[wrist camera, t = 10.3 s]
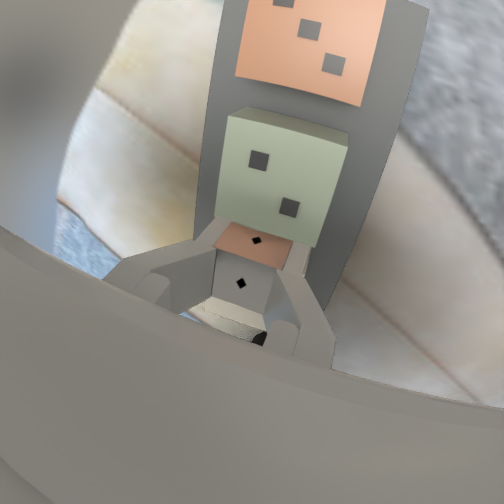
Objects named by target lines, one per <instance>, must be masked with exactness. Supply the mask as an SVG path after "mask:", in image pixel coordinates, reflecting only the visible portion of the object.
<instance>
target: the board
mask: <svg viewBox="0 0 504 504" xmlns="http://www.w3.org/2000/svg"><path fill="white" fill-rule="evenodd" d="M248 3H249V0H225V1H224V6H223V11H222V16H221V22H220V27H219V33H218V39H217V44H216V50H215V56H214V63H213V69H212V75H211V82H210V89H209V96H208V103H207V110H206V118H205V126H204V134H203V142H202V151H201V160H200V169H199V179H198V189H197V199H196V210H195V222H194V235H193V240H194V241H195V240H196V239H197V238H198V237H199V236H200V235H201V233H202V232H203V231H204V230H205V229H206V228H207V226H208V225H209V224H210V223H211V222H212V221H213V220H214V218H215V217H214V212H215V205H216V197H217V189H218V182H219V174H220V167H221V160H222V153H223V146H224V140H225V133H226V126H227V120H228V115H230V114H233V113H235V112H237V111H239V110H241V109H243V108H245V107H252V108H257V109H261V110H265V111H270V112H274V113H278V114H282V115H286V116H290V117H294V118H298V119H301V120H305V121H309V122H312V123H316V124H319V125H323V126H326V127H329V128H333V129H336V130H339V131H342V132H345V133H348V149H347V153H346V156H345V159H344V162H343V165H342V169H341V172H340V175H339V178H338V181H337V184H336V187H335V190H334V194H333V197H332V200H331V203H330V206H329V209H328V212H327V215H326V217H325V220H324V223H323V226H322V229H321V232H320V235H319V238H318V241H317V243H316V246H315V248H313V247H312V248H311V252H310V256H309V260H308V265H307V269H306V273H305V277H304V278H305V279H306V281H307V283H308V284H309V286H310V288H311V290H312V292H313V294H314V296H315V297H316V299H317V301H318V303H319V305H320V307H321V309H322V311H323V312H324V310H325V308H326V306H327V303H328V301H329V299H330V297H331V295H332V293H333V291H334V289H335V286H336V284H337V282H338V280H339V278H340V275H341V273H342V271H343V269H344V267H345V264H346V262H347V260H348V257H349V255H350V253H351V251H352V248H353V246H354V244H355V241H356V239H357V236H358V234H359V232H360V229H361V227H362V224H363V222H364V219H365V217H366V215H367V212H368V209H369V207H370V204H371V202H372V199H373V197H374V194H375V191H376V189H377V186H378V184H379V181H380V178H381V175H382V173H383V170H384V167H385V164H386V162H387V159H388V156H389V153H390V150H391V147H392V144H393V141H394V138H395V135H396V132H397V129H398V126H399V123H400V120H401V117H402V114H403V110H404V107H405V104H406V101H407V97H408V94H409V90H410V87H411V83H412V80H413V76H414V73H415V69H416V65H417V61H418V58H419V54H420V50H421V46H422V41H423V37H424V33H425V29H426V24H427V20H428V15H429V10H430V9H427V8H425V7H423V6H420V5H418V4H415V3H413V2H410V1H408V0H386V5H385V9H384V14H383V18H382V23H381V27H380V31H379V35H378V40H377V44H376V48H375V52H374V56H373V60H372V64H371V68H370V72H369V75H368V79H367V83H366V87H365V90H364V94H363V98H362V101H361V105H360V107H358V106H355V105H352V104H349V103H346V102H343V101H339V100H336V99H333V98H329V97H326V96H322V95H318V94H315V93H311V92H307V91H303V90H299V89H295V88H291V87H287V86H283V85H278V84H274V83H269V82H264V81H259V80H254V79H248V78H243V77H237V76H235V72H236V66H237V60H238V55H239V49H240V44H241V39H242V33H243V28H244V23H245V18H246V13H247V8H248Z"/></svg>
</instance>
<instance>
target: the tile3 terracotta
mask: <svg viewBox="0 0 504 504" xmlns="http://www.w3.org/2000/svg"><path fill="white" fill-rule="evenodd" d="M385 5H386V0H249V3H248V8H247V13H246V18H245V23H244V28H243V33H242V39H241V44H240V49H239V55H238V60H237V66H236V72H235V76H237V77H243V78H248V79H254V80H259V81H264V82H269V83H274V84H278V85H283V86H287V87H291V88H295V89H299V90H303V91H307V92H311V93H315V94H318V95H322V96H326V97H329V98H333V99H336V100H339V101H343V102H346V103H349V104H352V105H355V106H358V107H360V105H361V101H362V98H363V94H364V90H365V87H366V83H367V79H368V75H369V72H370V68H371V64H372V60H373V56H374V52H375V48H376V44H377V40H378V35H379V31H380V27H381V23H382V18H383V14H384V9H385Z"/></svg>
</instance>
